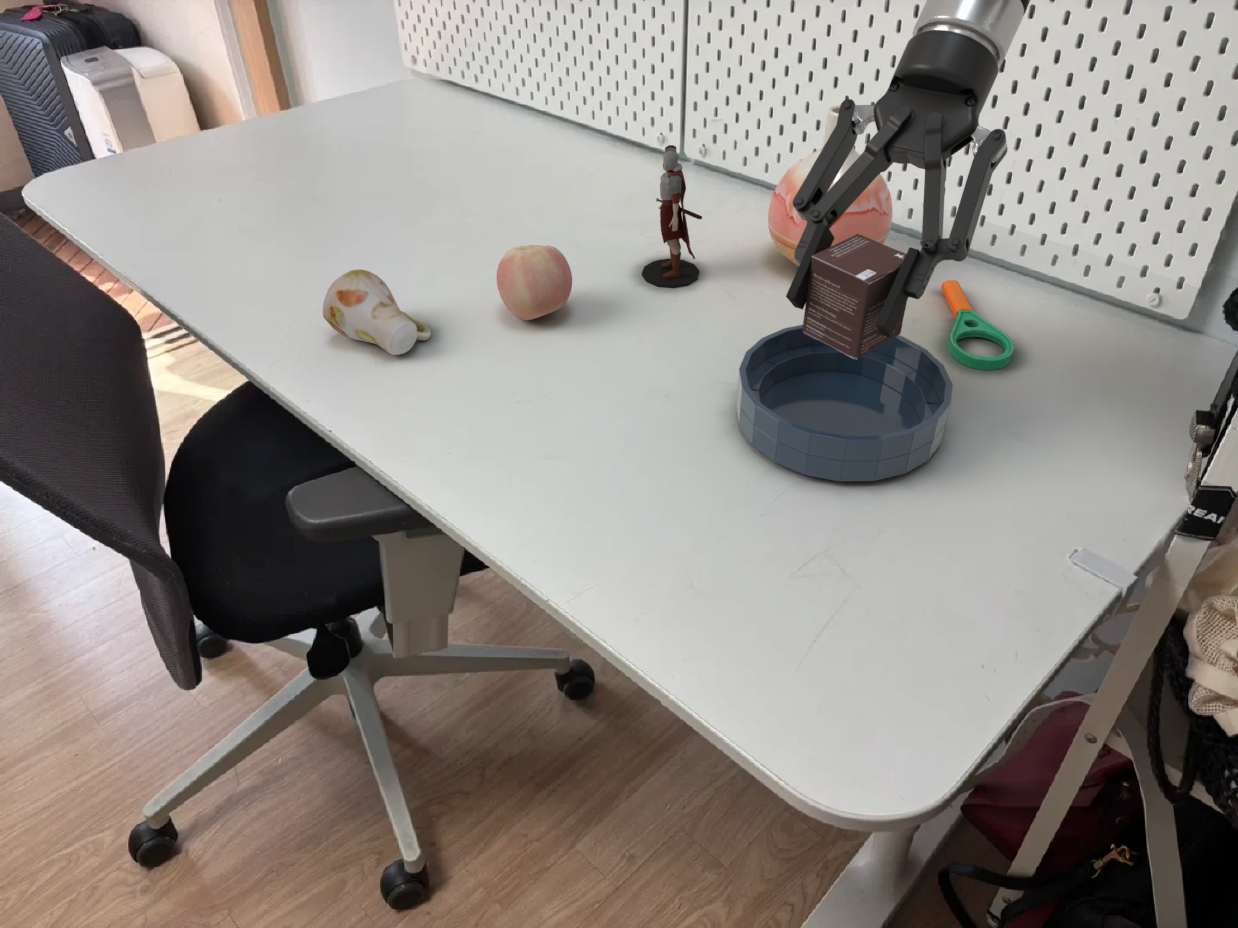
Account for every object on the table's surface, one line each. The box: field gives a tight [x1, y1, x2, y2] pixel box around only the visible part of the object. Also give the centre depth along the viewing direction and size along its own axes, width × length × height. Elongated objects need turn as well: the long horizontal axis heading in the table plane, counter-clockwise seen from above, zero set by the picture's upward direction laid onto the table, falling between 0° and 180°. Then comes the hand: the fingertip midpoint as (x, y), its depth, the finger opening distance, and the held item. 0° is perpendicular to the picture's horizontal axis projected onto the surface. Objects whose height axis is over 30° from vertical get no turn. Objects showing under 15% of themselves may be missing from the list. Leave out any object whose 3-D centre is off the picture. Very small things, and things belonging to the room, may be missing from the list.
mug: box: [322, 269, 432, 356], centre depth 96 cm, size 8×10×10 cm
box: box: [802, 234, 908, 359], centre depth 77 cm, size 6×6×7 cm
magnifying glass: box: [940, 279, 1015, 371], centre depth 96 cm, size 15×6×2 cm, turn 179°
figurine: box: [641, 144, 703, 289], centre depth 103 cm, size 7×7×15 cm
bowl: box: [735, 324, 954, 482], centre depth 84 cm, size 18×18×5 cm
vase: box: [767, 104, 893, 269], centre depth 103 cm, size 14×14×18 cm
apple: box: [496, 244, 573, 321], centre depth 98 cm, size 8×8×8 cm
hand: (837, 316), depth 75 cm, fingers closed on box, 7 cm apart
